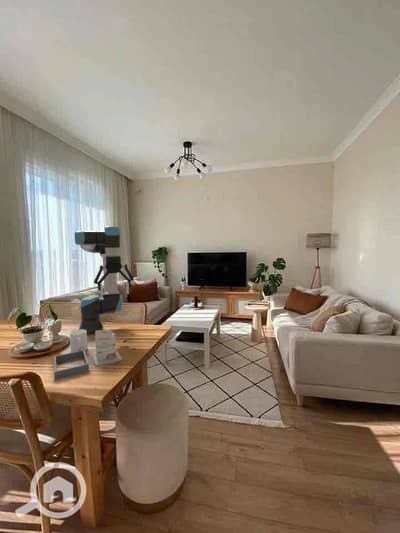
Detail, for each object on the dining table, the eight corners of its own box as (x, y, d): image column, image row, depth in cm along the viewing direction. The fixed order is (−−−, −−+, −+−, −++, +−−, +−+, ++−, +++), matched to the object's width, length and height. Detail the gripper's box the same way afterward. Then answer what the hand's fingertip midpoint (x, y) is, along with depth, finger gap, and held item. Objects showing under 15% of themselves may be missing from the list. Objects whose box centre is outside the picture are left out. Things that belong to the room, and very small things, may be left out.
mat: (92, 357, 127) (92, 355, 127) (116, 351, 133) (116, 350, 133) (95, 366, 117) (95, 365, 117) (121, 360, 123) (121, 358, 123)
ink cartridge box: (116, 354, 128) (115, 326, 127) (114, 359, 123) (112, 329, 122) (99, 355, 127) (97, 327, 126) (96, 360, 122) (94, 330, 121)
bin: (54, 363, 122) (54, 356, 121) (84, 356, 128) (84, 349, 128) (54, 380, 106) (54, 372, 105) (89, 371, 112) (88, 364, 112)
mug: (88, 353, 132) (87, 334, 131) (71, 357, 128) (70, 337, 127) (86, 346, 142) (85, 328, 141) (70, 349, 138) (69, 331, 137)
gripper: (88, 257, 123) (90, 299, 125) (138, 255, 135) (139, 293, 137) (86, 256, 129) (89, 296, 131) (134, 254, 141) (136, 291, 143)
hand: (115, 295), depth 134 cm, fingers open, 13 cm apart
